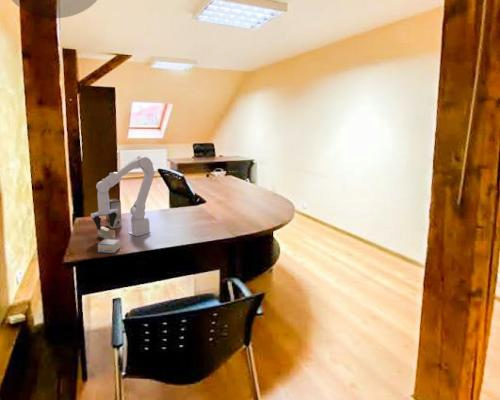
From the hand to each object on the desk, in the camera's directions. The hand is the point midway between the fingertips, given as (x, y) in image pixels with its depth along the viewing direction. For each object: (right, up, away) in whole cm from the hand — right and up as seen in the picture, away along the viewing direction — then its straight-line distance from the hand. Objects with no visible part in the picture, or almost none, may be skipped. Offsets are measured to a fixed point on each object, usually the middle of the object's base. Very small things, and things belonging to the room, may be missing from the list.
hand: (105, 227), depth 200 cm
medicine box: (+9, -7, -14) cm, 17 cm away
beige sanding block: (0, -6, +1) cm, 6 cm away
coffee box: (-4, -1, +22) cm, 23 cm away
